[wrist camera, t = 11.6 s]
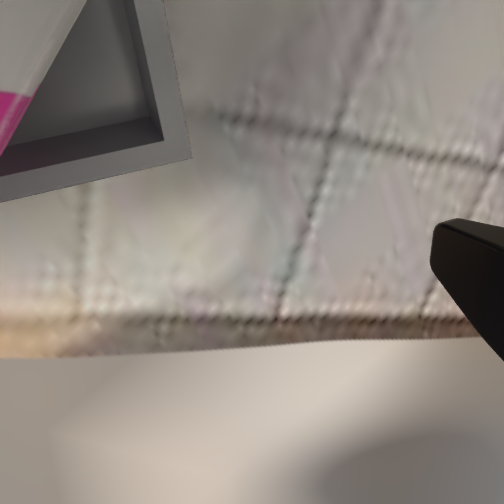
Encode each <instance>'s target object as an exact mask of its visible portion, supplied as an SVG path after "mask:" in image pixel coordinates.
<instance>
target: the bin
mask: <svg viewBox="0 0 504 504" xmlns="http://www.w3.org/2000/svg"><path fill="white" fill-rule="evenodd" d="M191 158H192V154H191V148H190V143H189V138H188V132H187V127H186V122H185V116H184V111H183V106H182V100H181V95H180V90H179V84H178V79H177V74H176V68H175V63H174V57H173V52H172V47H171V41H170V36H169V31H168V25H167V20H166V15H165V9H164V4H163V0H87V1H86V3H85V5H84V7H83V8H82V10H81V12H80V14H79V16H78V18H77V19H76V21H75V23H74V25H73V26H72V28H71V30H70V32H69V33H68V35H67V37H66V39H65V41H64V43H63V44H62V46H61V48H60V50H59V52H58V53H57V55H56V57H55V59H54V61H53V62H52V64H51V66H50V68H49V69H48V71H47V73H46V75H45V77H44V79H43V80H42V82H41V84H40V86H39V88H38V90H37V91H36V93H35V95H34V97H33V99H32V101H31V102H30V104H29V106H28V108H27V110H26V111H25V113H24V115H23V117H22V119H21V121H20V122H19V124H18V126H17V128H16V130H15V131H14V133H13V135H12V137H11V139H10V140H9V142H8V144H7V146H6V148H5V149H4V151H3V153H2V155H1V156H0V203H1V202H5V201H10V200H14V199H18V198H23V197H27V196H31V195H36V194H40V193H44V192H48V191H53V190H57V189H61V188H66V187H70V186H74V185H79V184H83V183H87V182H92V181H96V180H100V179H105V178H109V177H113V176H117V175H122V174H126V173H130V172H135V171H139V170H143V169H148V168H152V167H156V166H161V165H165V164H169V163H174V162H178V161H182V160H186V159H191Z"/></svg>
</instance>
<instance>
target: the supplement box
mask: <svg viewBox="0 0 504 504" xmlns="http://www.w3.org/2000/svg"><path fill="white" fill-rule="evenodd" d="M86 1H87V0H0V156H1V155H2V153H3V151H4V149H5V148H6V146H7V144H8V142H9V140H10V139H11V137H12V135H13V133H14V131H15V130H16V128H17V126H18V124H19V122H20V121H21V119H22V117H23V115H24V113H25V111H26V110H27V108H28V106H29V104H30V102H31V101H32V99H33V97H34V95H35V93H36V91H37V90H38V88H39V86H40V84H41V82H42V80H43V79H44V77H45V75H46V73H47V71H48V69H49V68H50V66H51V64H52V62H53V61H54V59H55V57H56V55H57V53H58V52H59V50H60V48H61V46H62V44H63V43H64V41H65V39H66V37H67V35H68V33H69V32H70V30H71V28H72V26H73V25H74V23H75V21H76V19H77V18H78V16H79V14H80V12H81V10H82V8H83V7H84V5H85V3H86Z"/></svg>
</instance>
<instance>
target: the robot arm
mask: <svg viewBox="0 0 504 504" xmlns="http://www.w3.org/2000/svg"><path fill="white" fill-rule="evenodd" d="M430 266H431V269H432V271H433V273H434V274H435V276H436V277H437V278H438V280H439V281H440V282H441V284H442V285H443V286H444V288H445V289H446V290H447V292H448V293H449V295H450V296H451V297H452V299H453V300H454V301H455V303H456V304H457V305H458V307H459V308H460V309H461V311H462V312H463V313H464V315H465V316H466V317H467V319H468V320H469V321H470V323H471V324H472V325H473V327H474V328H475V329H476V331H477V332H478V333H479V334H480V335H481V337H482V338H483V339H484V340H485V341H486V342H487V344H488V345H489V346H490V347H491V348H492V349H493V350H494V351H495V352H496V353H497V355H498V356H499V357H500V358H501V359H502V360H503V361H504V227H499V226H494V225H489V224H484V223H480V222H475V221H470V220H465V219H460V218H455V219H451V220H448V221H444V222H441V223H439V224H437V225H436V227H435V228H434V231H433V238H432V246H431V254H430Z"/></svg>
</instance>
